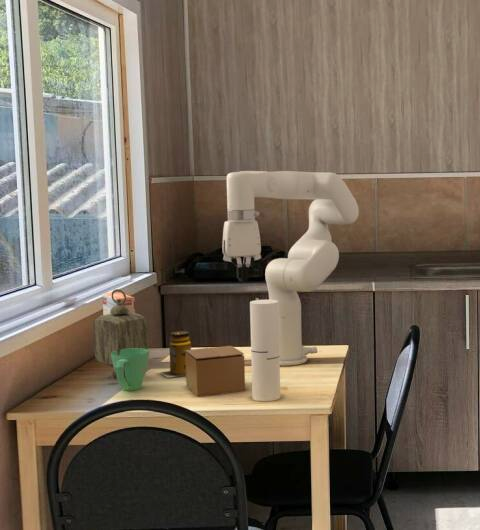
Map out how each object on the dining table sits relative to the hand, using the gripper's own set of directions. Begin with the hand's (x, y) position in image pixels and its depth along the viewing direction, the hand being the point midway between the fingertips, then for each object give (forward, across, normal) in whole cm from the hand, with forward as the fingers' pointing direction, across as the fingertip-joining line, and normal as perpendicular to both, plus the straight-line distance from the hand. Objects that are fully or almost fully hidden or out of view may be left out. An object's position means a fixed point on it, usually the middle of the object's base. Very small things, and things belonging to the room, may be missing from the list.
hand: (242, 280), depth 251 cm
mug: (+27, +33, +3) cm, 43 cm away
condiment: (+27, +17, -10) cm, 34 cm away
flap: (+17, +9, +12) cm, 23 cm away
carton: (+27, +12, +12) cm, 32 cm away
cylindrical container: (+27, +3, +27) cm, 39 cm away
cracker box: (+27, +29, -33) cm, 52 cm away
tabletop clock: (+27, +32, -15) cm, 45 cm away
